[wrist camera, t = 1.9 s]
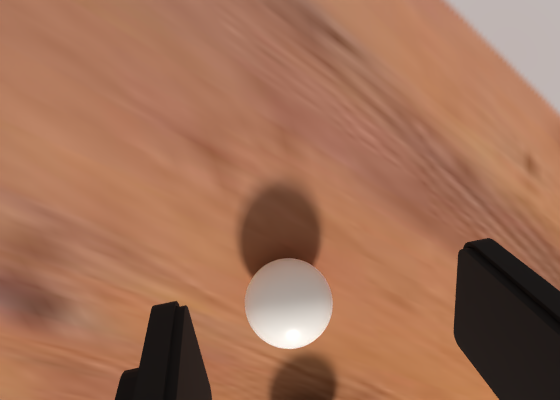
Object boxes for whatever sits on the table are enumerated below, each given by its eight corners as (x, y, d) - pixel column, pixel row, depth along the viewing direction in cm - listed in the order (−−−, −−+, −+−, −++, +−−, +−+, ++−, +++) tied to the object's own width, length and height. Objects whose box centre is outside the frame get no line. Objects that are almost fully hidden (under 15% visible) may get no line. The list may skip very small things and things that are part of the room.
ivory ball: (235, 251, 27) (240, 303, 22) (316, 235, 27) (340, 283, 22) (248, 317, 29) (256, 377, 24) (323, 301, 30) (346, 357, 25)
